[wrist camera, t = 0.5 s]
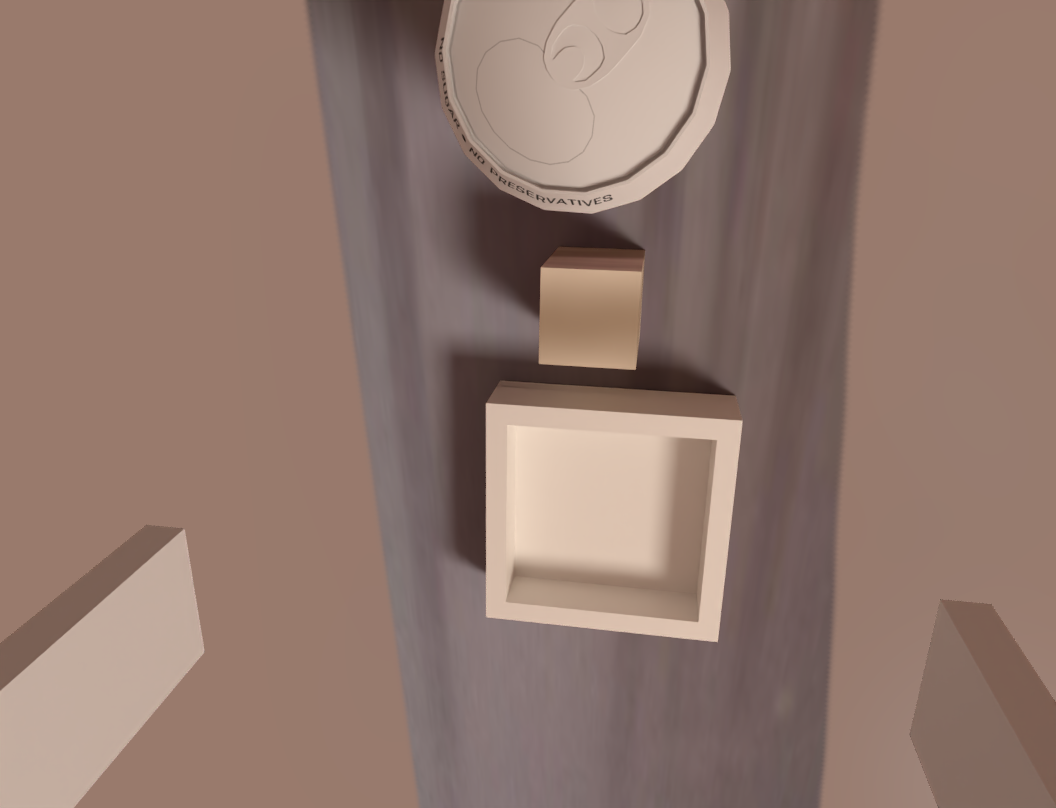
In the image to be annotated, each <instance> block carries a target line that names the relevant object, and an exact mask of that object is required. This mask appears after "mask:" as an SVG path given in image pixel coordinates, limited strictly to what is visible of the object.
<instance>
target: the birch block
mask: <svg viewBox="0 0 1056 808" xmlns="http://www.w3.org/2000/svg"><path fill="white" fill-rule="evenodd" d="M644 259H645V250H633V249H608V248H582V247H558V248H557V249H556V251H555V252H554V253H553V254H552V255H551V256H550V257H549V259H548V260H547V261H546V262H545V263H544V264H543V265H542V267H541V279H540V325H539V364H548V365H564V366H581V367H597V368H613V369H630V370H636V363H637V354H638V344H639V335H640V321H641V305H642V290H643V274H644Z"/></svg>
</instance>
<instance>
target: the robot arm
mask: <svg viewBox="0 0 1056 808" xmlns="http://www.w3.org/2000/svg"><path fill="white" fill-rule="evenodd" d="M203 653H204V646H203V640H202V634H201V627H200V621H199V615H198V609H197V603H196V597H195V590H194V584H193V578H192V573H191V566H190V560H189V554H188V547H187V541H186V535H185V529H183V528H173V527H162V526H151V525H146V526H144V527H143V528H142V529H141V530H140V531H138V532H137V533H136V534H135V535H133V536H132V537H131V538H130V539H129V540H127V541H126V542H125V543H123V544H122V545H121V546H120V547H119V548H117V549H116V550H115V551H114V552H112V553H111V554H110V555H109V556H108V557H106V558H105V559H104V560H102V561H101V562H100V563H99V564H98V565H96V566H95V567H94V568H93V569H91V570H90V571H89V572H88V573H86V574H85V575H84V576H83V577H81V578H80V579H79V580H78V581H77V582H75V583H74V584H73V585H72V586H70V587H69V588H68V589H67V590H65V591H64V592H63V593H62V594H60V595H59V596H58V597H57V598H56V599H54V600H53V601H52V602H51V603H50V604H48V605H47V606H46V607H44V608H43V609H42V610H41V611H40V612H38V613H37V614H36V615H35V616H33V617H32V618H31V619H30V620H28V621H27V622H26V623H25V624H23V625H22V626H21V627H20V628H19V629H17V630H16V631H15V632H14V633H12V634H11V635H10V636H9V637H7V638H6V639H5V640H4V641H2V642H1V643H0V808H74V807H75V805H76V804H77V803H78V802H79V801H80V799H81V798H82V797H83V796H84V795H85V793H86V792H87V791H88V790H89V789H90V788H91V786H92V785H93V784H94V783H95V781H96V780H97V779H98V778H99V777H100V776H101V774H102V773H103V772H104V771H105V770H106V769H107V767H108V766H109V765H110V764H111V762H112V761H113V760H114V759H115V758H116V756H117V755H118V754H119V753H120V752H121V750H123V748H124V747H125V746H126V745H127V744H128V742H129V741H130V740H131V739H132V738H133V736H134V735H135V734H136V733H137V732H138V730H139V729H140V728H141V727H142V726H143V725H144V723H145V722H146V721H147V719H148V718H149V717H150V716H151V715H152V714H153V713H154V711H155V710H156V709H157V708H158V707H159V706H160V704H161V703H162V702H163V701H164V700H165V698H166V697H167V696H168V695H169V694H170V692H171V691H172V690H173V689H174V688H175V686H176V685H177V684H178V683H179V682H180V680H181V679H182V678H183V677H184V676H185V675H186V673H187V672H188V671H189V670H190V669H191V667H192V666H193V665H194V664H195V663H196V661H197V660H198V659H199V658H200V657H201V655H202V654H203ZM910 737H911V740H912V742H913V745H914V747H915V750H916V752H917V755H918V758H919V760H920V763H921V765H922V768H923V770H924V773H925V775H926V778H927V781H928V783H929V786H930V788H931V791H932V793H933V796H934V798H935V801H936V803H937V806H938V808H1056V702H1055V700H1054V699H1053V697H1052V696H1051V694H1050V693H1049V691H1048V690H1047V688H1046V686H1045V685H1044V684H1043V682H1042V681H1041V679H1040V678H1039V676H1038V674H1037V673H1036V671H1035V670H1034V668H1033V667H1032V665H1031V664H1030V662H1029V661H1028V659H1027V658H1026V656H1025V655H1024V653H1023V652H1022V650H1021V648H1020V647H1019V645H1018V644H1017V643H1016V641H1015V639H1014V638H1013V636H1012V635H1011V634H1010V632H1009V630H1008V629H1007V627H1006V626H1005V624H1004V623H1003V621H1002V620H1001V618H1000V617H999V615H998V614H997V612H996V611H995V609H994V607H993V606H992V604H984V603H973V602H962V601H952V600H941V599H940V603H939V607H938V611H937V616H936V620H935V625H934V629H933V634H932V638H931V642H930V647H929V651H928V656H927V660H926V665H925V669H924V673H923V678H922V682H921V687H920V691H919V696H918V700H917V704H916V709H915V713H914V718H913V722H912V726H911V731H910Z"/></svg>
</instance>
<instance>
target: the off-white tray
mask: <svg viewBox="0 0 1056 808" xmlns="http://www.w3.org/2000/svg"><path fill="white" fill-rule="evenodd" d="M742 421H743V420H742V417H741V413H740V410H739V406H738V402H737V399H736V396H733V395H717V394H701V393H686V392H670V391H655V390H639V389H623V388H608V387H592V386H577V385H561V384H545V383H530V382H514V381H500V382H499V383H498V385H497V387H496V388H495V390H494V391H493V393H492V394H491V396H490V398H489V399H488V401H487V402H486V617H490V618H499V619H508V620H518V621H527V622H536V623H546V624H555V625H564V626H573V627H583V628H592V629H601V630H611V631H620V632H629V633H638V634H648V635H657V636H666V637H676V638H685V639H694V640H703V641H713V642H718V634H719V625H720V617H721V608H722V599H723V590H724V581H725V572H726V563H727V554H728V546H729V537H730V528H731V519H732V510H733V501H734V492H735V484H736V475H737V466H738V457H739V448H740V439H741V430H742Z"/></svg>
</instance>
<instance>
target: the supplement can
mask: <svg viewBox="0 0 1056 808" xmlns="http://www.w3.org/2000/svg"><path fill="white" fill-rule="evenodd" d="M435 61H436V68H437V76H438V83H439V90H440V98H441V105H442V109H443V111H444V113H445V115H446V117H447V119H448V121H449V123H450V125H451V127H452V129H453V131H454V134H455V136H456V138H457V140H458V142H459V144H460V146H461V148H462V150H463V152H464V154H465V155H466V156H467V157H468V158H469V159H470V160H471V161H472V162H473V163H474V164H475V165H476V166H477V167H478V168H479V169H480V170H481V171H482V172H483V173H484V174H485V175H486V176H487V177H488V178H489V179H490V180H491V181H492V182H493V183H494V184H495V185H496V186H497V187H498V188H499V189H500V190H502V191H504V192H506V193H509V194H511V195H513V196H515V197H517V198H519V199H521V200H524V201H526V202H528V203H530V204H532V205H534V206H536V207H539V208H541V209H543V210H552V211H565V212H577V213H590V214H593V213H596V212H600V211H603V210H607V209H610V208H614V207H617V206H621V205H624V204H628V203H631V202H635V201H638V200H641V199H642V198H643V197H645V196H646V195H648V194H649V193H650V192H652V191H653V190H655V189H656V188H657V187H659V186H660V185H661V184H663V183H664V182H666V181H667V180H668V179H670V178H671V177H673V176H674V175H675V174H677V173H678V172H680V171H681V170H682V169H683V168H684V166H685V165H686V164H687V162H688V161H689V159H690V158H691V157H692V155H693V154H694V152H695V151H696V150H697V148H698V147H699V145H700V144H701V143H702V141H703V140H704V138H705V137H706V136H707V134H708V133H709V131H710V130H711V128H712V127H713V126H714V123H715V120H716V117H717V114H718V110H719V107H720V104H721V100H722V97H723V94H724V91H725V87H726V84H727V81H728V77H729V74H730V71H731V65H730V32H729V11H728V9H727V6H726V3H725V1H724V0H444V4H443V10H442V15H441V21H440V26H439V32H438V38H437V43H436V49H435Z"/></svg>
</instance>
